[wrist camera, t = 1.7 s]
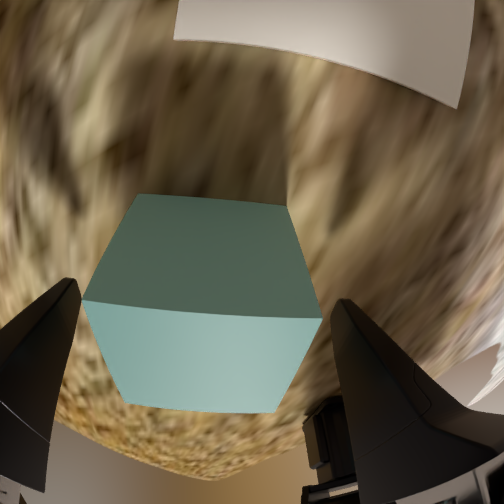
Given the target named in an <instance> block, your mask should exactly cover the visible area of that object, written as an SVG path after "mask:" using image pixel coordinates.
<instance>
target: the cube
mask: <svg viewBox="0 0 504 504" xmlns="http://www.w3.org/2000/svg"><path fill="white" fill-rule="evenodd" d="M82 303H83V306H84V309H85V312H86V315H87V317H88V320H89V323H90V325H91V328H92V331H93V333H94V336H95V338H96V341H97V343H98V346H99V348H100V351H101V353H102V355H103V358H104V360H105V362H106V364H107V367H108V369H109V371H110V373H111V375H112V377H113V380H114V382H115V384H116V386H117V388H118V390H119V392H120V394H121V396H122V398H123V400H124V402H125V403H130V404H136V405H143V406H150V407H158V408H166V409H176V410H187V411H200V412H219V413H274V412H275V410H276V409H277V407H278V405H279V403H280V402H281V400H282V398H283V396H284V394H285V393H286V391H287V389H288V387H289V385H290V383H291V382H292V380H293V378H294V376H295V374H296V372H297V370H298V368H299V366H300V364H301V362H302V361H303V359H304V357H305V355H306V353H307V351H308V349H309V347H310V345H311V343H312V340H313V338H314V336H315V334H316V332H317V330H318V328H319V326H320V324H321V322H322V320H323V317H322V314H321V310H320V307H319V304H318V300H317V297H316V294H315V291H314V287H313V284H312V281H311V278H310V275H309V272H308V269H307V265H306V262H305V259H304V256H303V253H302V250H301V247H300V244H299V241H298V238H297V235H296V232H295V229H294V226H293V223H292V220H291V218H290V215H289V212H288V209H287V206H282V205H274V204H264V203H255V202H245V201H235V200H224V199H212V198H200V197H187V196H173V195H157V194H139V193H138V194H137V196H136V198H135V199H134V201H133V203H132V204H131V206H130V208H129V209H128V211H127V213H126V214H125V216H124V218H123V220H122V221H121V223H120V225H119V227H118V228H117V230H116V232H115V234H114V236H113V237H112V239H111V241H110V243H109V245H108V247H107V249H106V251H105V252H104V254H103V256H102V258H101V260H100V262H99V264H98V266H97V268H96V270H95V272H94V274H93V276H92V278H91V280H90V282H89V285H88V287H87V289H86V291H85V293H84V295H83V298H82Z"/></svg>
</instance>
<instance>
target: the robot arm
mask: <svg viewBox="0 0 504 504" xmlns="http://www.w3.org/2000/svg"><path fill="white" fill-rule="evenodd" d="M81 300H82V298H81V293H80V290H79V287H78V284H77V281H76V279H74V278H67V277H66V278H63V279H62V280H61V281H59V282H58V283H57V284H55V285H54V286H53V287H51V288H50V289H49V290H48V291H46V292H45V293H44V294H42V295H41V296H40V297H39V298H37V299H36V300H35V301H34V302H32V303H31V304H30V305H29V306H28V307H26V308H25V309H24V310H23V311H21V312H20V313H19V314H18V315H17V316H16V317H14V318H13V319H12V320H11V321H10V322H8V323H7V324H6V325H5V326H4V327H3V328H2V329H0V504H26V502H25V500H24V498H23V497H22V495H21V493H20V488H21V485H24V486H26V487H29V488H31V489H34V490H37V491H39V492H42V493H44V492H45V482H46V470H47V461H48V453H49V446H50V443H49V442H50V438H51V432H52V426H53V421H54V415H55V410H56V405H57V400H58V396H59V392H60V387H61V383H62V379H63V375H64V371H65V367H66V364H67V360H68V356H69V353H70V349H71V346H72V342H73V338H74V334H75V329H76V324H77V319H78V315H79V310H80V306H81ZM330 323H331V331H332V340H333V350H334V358H335V363H336V368H337V372H338V377H339V382H340V386H341V391H342V396H343V397H338V398H330V399H327V400H325V401H324V402H323V403H322V404H321V405H320V407H319V408H318V409H317V410H316V411H315V413H314V414H313V415H312V416H311V417H310V418H309V420H308V421H307V422H306V423H305V424H304V425H303V427H302V429H303V432H304V434H305V441H306V447H307V453H308V459H309V466H310V468H311V469H316V470H317V477H318V483H319V484H318V485H308V486H303V488H302V496H301V504H504V415H501V414H493V413H486V412H479V411H474V410H471V409H468V408H466V407H464V406H463V405H462V404H460V403H459V402H458V401H457V400H456V399H454V397H452V396H451V395H450V394H449V393H448V392H447V391H445V390H444V389H443V388H442V387H441V386H440V385H439V384H437V383H436V382H435V381H434V380H433V379H432V378H431V377H430V376H429V375H428V374H427V373H426V372H425V371H423V370H422V369H421V368H420V367H419V366H418V365H417V364H416V363H414V361H413V360H412V359H411V358H410V357H409V356H408V355H407V354H406V353H405V352H404V351H403V350H402V349H401V348H400V347H399V346H398V345H397V344H396V343H395V342H394V341H393V340H392V339H391V338H390V337H389V336H388V335H387V334H386V333H385V332H384V331H383V330H382V329H381V328H380V327H379V326H378V325H377V324H376V323H375V322H374V321H373V320H372V319H371V318H370V317H369V316H368V315H366V314H365V313H364V312H363V311H362V310H361V309H360V308H359V307H358V306H357V305H356V304H355V303H354V302H353V301H352V300H351V299H343V298H341V299H338V301H337V302H336V305H335V307H334V309H333V311H332V313H331V316H330ZM355 485H358V490H355V491H351V492H348V493H344V494H340V495H336V496H331V497H330V495H329V492H333V491H336V490H340V489H345V488H348V487H352V486H355Z"/></svg>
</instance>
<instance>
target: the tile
mask: <svg viewBox="0 0 504 504" xmlns="http://www.w3.org/2000/svg"><path fill="white" fill-rule="evenodd" d="M474 2H475V0H179V6H178V11H177V18H176V24H175V31H174V38H173V39H174V40H176V41H199V42H216V43H228V44H238V45H246V46H254V47H261V48H268V49H274V50H280V51H285V52H290V53H295V54H300V55H305V56H309V57H313V58H318V59H322V60H326V61H330V62H333V63H337V64H340V65H344V66H347V67H351V68H354V69H357V70H360V71H363V72H367V73H370V74H372V75H375V76H378V77H381V78H384V79H386V80H389V81H392V82H394V83H397V84H399V85H402V86H404V87H407V88H409V89H412V90H414V91H416V92H419V93H421V94H423V95H425V96H428V97H430V98H432V99H434V100H436V101H438V102H440V103H442V104H444V105H446V106H449V107H452V108H454V109H457V107H458V103H459V99H460V94H461V90H462V86H463V81H464V76H465V71H466V66H467V60H468V54H469V48H470V41H471V34H472V26H473V16H474Z"/></svg>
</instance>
